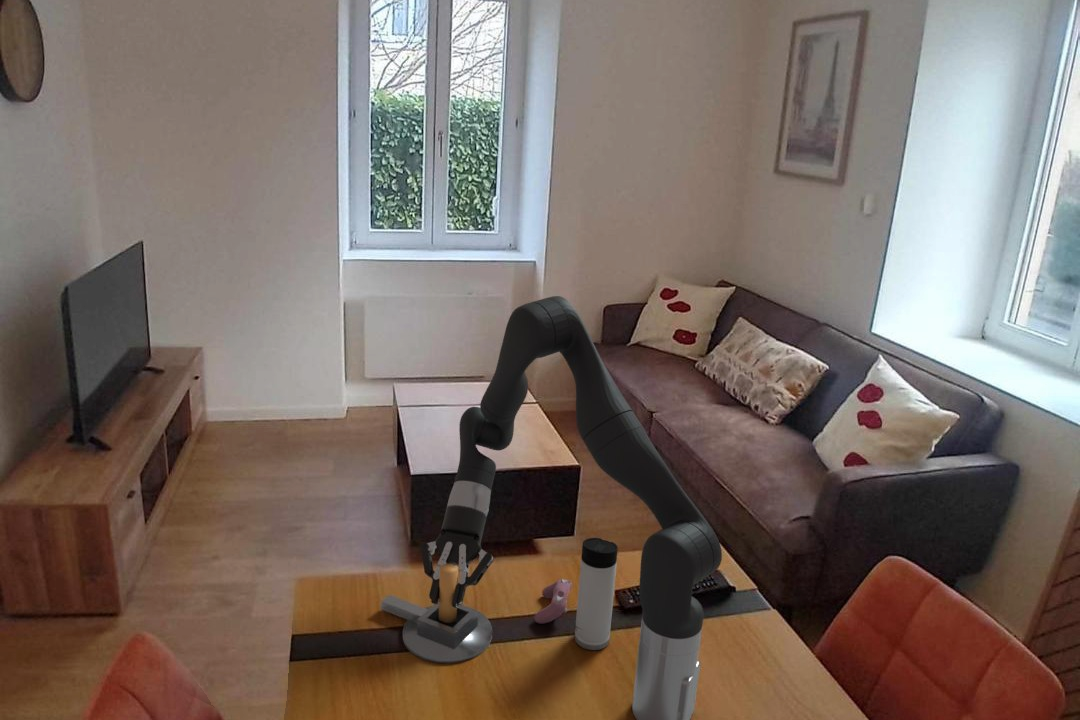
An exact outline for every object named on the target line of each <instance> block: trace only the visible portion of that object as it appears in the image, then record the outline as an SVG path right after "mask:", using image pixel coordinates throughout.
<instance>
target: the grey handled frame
mask: <svg viewBox="0 0 1080 720" xmlns="http://www.w3.org/2000/svg"><path fill="white" fill-rule="evenodd" d="M380 610H382V611H384V612H387V613H389V614H392V615H395V616H398V617H399V618H402V619H404V620H406V621H405V623H404V624H403V628H402V641H403V644H404V646H405V648H406V650H408V651H409V652H410V653H411V654H412V655H414V656H415V657H417V658H419V659H422V660H424V661H427V662H431V663H436V664H455V663H462V662H465V661H469V660H472V659H474V658H475V657H477V656H480V654H482V653H483V652H484V651H486V649H488V647H489V646H490V644H491V642H492V639H493V627H492V622H490V620H489V619H488V617H487V616H486V615H484V613H482V612H481V611H479V610H478V609H475V608H473V607H470V606H467V605H464V604H461V605H458V608H457V618H456V620H455V621H453V622H450V623H445V622H442V621H440V620H439V600H438V603H437V604H432V605H431V606H427V607H422V606H421V605H417V604H415V603H412V602H410V601H407V600H404V599H401V598H399V597H396V596H394V595H391V594H388V595H387V596H386V597H384V598H383V599H382V600H381V601H380Z"/></svg>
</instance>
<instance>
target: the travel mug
mask: <svg viewBox="0 0 1080 720" xmlns="http://www.w3.org/2000/svg"><path fill="white" fill-rule="evenodd" d="M618 551H619V547H618V545H617V543H616V542H613V541H609V540H605V539H603V538H602V537H601V538H600V537H590V538H587V539H586V538H585V540H583V541H582V545H581V557H580V567H579V579H578V580H579V581H578V590H577V591H578V593H577V605H576V619H575V628H574V629H575V630H574V641H575V643H576V644H577V645H578V646H580V647H581V648H583V649H586V650H589V651H599V650H602V649H604V648H606V647H607V646H608V645H609V643H610V635H611V626H612V625H611V623H612V615H613V607H614V606H613V605H614V596H615V595H614V594H615V585H616V573H617V564H618V553H619V552H618Z"/></svg>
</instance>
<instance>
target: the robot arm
mask: <svg viewBox="0 0 1080 720" xmlns="http://www.w3.org/2000/svg"><path fill="white" fill-rule="evenodd" d="M557 353H560V354H561V355H562V356H563V358H564V361H565V362H566V363H567V366H568V367H569V369H570V371H571V373H572V376H573V379H574V384H575V422H576V428H577V432H578V434H579V436H580V437H581V440H582V441H583V444H584V445H585V446H586V448H587V450H588V451H589V452H588V453H590V455H591V457H592V459H593V460H594V462H595V464H597V466H598V467H599V468H600V469H601V470H602V472H604V474H606V475H607V476H609V477H610V478H611V479H613V480H614V481H615V482H617V483H618V484H620V485H621V486H622V487H624V488H626V489H627V490H629V492H631V493H633V494H634V495H635V496H636V497H638V498H639V499H640V500H641V502H643V503H644V504H645V506H647V508H648V509H649V510H650V511H651V513H652V514H653V516H654V517H655V519H656V520H657V522H658V523H659V526H660V527H661V529H660V530H658V531H656V532H654V533H652V534H651V535H650V536H649V537H647V539H646V541H645V542H644V544H643V548H642V552H641V559H640V569H639V570H640V571H639V588H638V589H639V590H638V591H639V593H638V595H639V601H640V606H641V608H642V609H641V610H642V615H641V623H640V632H639V633H640V634H639V641H638V649H637V650H638V651H637V661H636V667H635V675H634V676H635V678H634V686H633V687H634V688H633V696H632V707H631V708H632V709H631V710H632V714H633V716H634V718H635V719H636V720H691V718H692V716H693V713H694V712H695V705H696V697H697V690H698V683H699V677H700V676H699V675H700V671H701V670H700V668H701V661H699V659H698V657H699V653H700V645H701V644H700V643H701V637H702V630H703V623H704V615H705V614H704V609H703V606H702V604H701V602H699V600H698V599H697V598H695V597H694V596H692V595H693V589H694V586H695V585H696V584H698V583H700V582H701V581H702V580H703V581H704V579H706V578H708V577H709V576H710V575H712V574H713V573H715V572H716V571H717V570H718V568H719V567H720V566H721V564H722V561H723V560H722V559H723V552H722V546H721V543H720V541H719V538H718V536H717V535H716V533H715V530H714V529H713V527H712V526H711V525H710V523H709V522H708V520H707V519H706V518H705V517H704V515H703V514H702V512H701V511H700V510H699V508H698V507H697V506H696V505H695V503H694V502H693V501H692V500H691V498H690V497H689V496H688V494H687V492H685V491H684V489H683V488H682V486H681V485H680V483H679V482H678V481H677V480H676V477H675V476H674V475H673V474H672V472H671V470H670V468H669V467H668V466H667V464H666V463H665V461H664V459H663V458H662V456H661V455H660V454H659V453H660V452H659V451H657V449H656V447H655V446H654V444H653V442H652V440H651V439H650V437H649V436H648V434H647V432H646V430H645V429H644V426H643V425H642V424H641V421H640V420H639V419H638V417H637V415H636V414H635V412H634V411H633V408H631V406H630V405H629V403H628V402H627V400H626V399H625V396H623V394H622V392H621V391H620V389H619V387H618V386H617V384H616V382H615V380H614V379H613V377H612V375H611V374H610V372H609V370H608V369H607V367H606V365H605V363H604V362H603V360H602V357H601V356H600V354H599V352H598V350H597V348H596V346H595V344H594V341H593V339H592V337H591V335H590V333H589V331H588V329H587V328H586V325H585V324H584V321H583V320H582V317H581V316H580V313H578V311H577V309H576V308H575V306H574V305H573V304H572V302H571V301H570V300H568V299H567V298H565V297H563V296H560V295H553V296H550V297H549V296H548V297H545V298H541V299H539V300H534V301H531V302H527V303H524V304H523V305H519V306H518V307H516V308H515V309H514V310H513V311H512V313H511V314H510V316H509V319H508V321H507V324H506V327H505V331H504V335H503V340H502V343H501V347H500V351H499V355H498V359H497V363H496V367H495V371H494V373H493V376H492V378H491V380H490V382H489V385H488V386H487V388H486V390H485V392H484V394H483V396H482V397H481V401H480V403H479V405H480V407H478V406H471V407H469V408H468V407H467V409H466V410H465V411H464V412H463V413H462V415H461V417H460V421H459V430H458V431H459V448H460V449H459V451H460V452H459V462H458V466H457V472H456V475H455V479H454V483H453V486H452V488H451V491H450V494H449V496H448V497H449V498H448V502H447V505H446V509H445V513H444V518H443V522H442V526H441V529H440V533H439V535H438V537H437V538H436V539H435V541H430V542H426V541H423V542H421V543H420V548H421V549H420V550H421V557H422V564H423V571H424V574H425V575H426V576H427V577H428V578H431V580H432V582H431V587H430V589H429V594H428V597H429V599H430V602H431V604H432V605H434V604H437V603H438V601H439V578H440V567H441V566H442V565H444V564H454V565H456V566H457V567H458V584H457V585H456V588H455V593H454V597H453V601H452V606H453V607H454V608H458V605H463V602H464V598H465V594H466V590H467V588H468V587H469V586H477V585H478V584H479V582H480V580H481V579H482V578H483V577H484V575H485V573H486V572H487V571H488V569H489V567H490V566H491V565H492V563H493V562H494V557H493V555H492V553H490V552H488V551H487V552H486V551H485V550H484V549H483V547H482V537H483V534H484V530H485V527H486V526H485V525H486V521H487V516H488V514H489V509H490V503H491V494H492V489H493V484H494V479H495V476H496V471H497V465H496V462H495V461H494V460H493V459H491V458H490V457H488V456H487V455H485V454H483V453H482V452H480V451H479V450H478V447H477V446H479V447H483V448H485V449H488V450H492V451H498V452H499V451H503V450H505V449H506V448H508V447H509V446H510V445H511V443H512V440H513V436H514V429H515V419H516V416H517V414H518V412H519V411H520V408H521V407H522V405H523V404H524V401H525V399H526V398H527V395H528V393H529V392H528V391H529V381H528V378H527V375H526V370H527V369H528V367H529V366H530V365H531V364H532V363H533V362H534V361H535V360H537V359H542V358H545V357H548V356H550V355H554V354H557ZM436 549H437V551H438V553H439V556H440V558H439V559H438V561H437V566H436V568H435V570H434V565H433V559H432V556H433V555H434V554H435V550H436ZM477 557H478V562H479V563H478V564H477V566H476V567H475V569H474V570H473V572H472V573H471V574H470V573H469V572H470V564H471V563H472V562H473V561H475V559H476V558H477ZM469 574H470V576H469Z"/></svg>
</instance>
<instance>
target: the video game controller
mask: <svg viewBox="0 0 1080 720" xmlns="http://www.w3.org/2000/svg"><path fill="white" fill-rule="evenodd" d="M572 586H573V583H572V582H571V581H569V580H567V579H564V578H560V579H558V580H556V581H555V582H553V583H552V584H550V585H547V586H546V587H544V588H543V589H542V591H541V595H542V597H544V598H545V599H551V601H550V602H551V603H550V604H549V605H547V606H545V608H543V609H541V610H539V611H538V612H537V613H535V614H534V617H533V619H534V622H536V623H537V624H547V623H551V622H552V621H554V620H556V619H557V618H560V616H562V614H566V613H567V612H568V607H567V604H568V600H567V598H568V596H569V593H570V591H571V589H572Z"/></svg>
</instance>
